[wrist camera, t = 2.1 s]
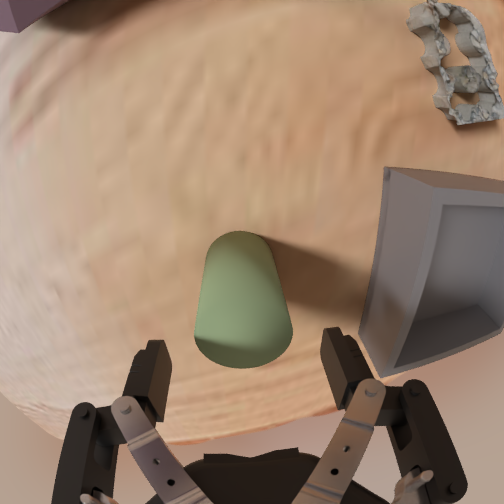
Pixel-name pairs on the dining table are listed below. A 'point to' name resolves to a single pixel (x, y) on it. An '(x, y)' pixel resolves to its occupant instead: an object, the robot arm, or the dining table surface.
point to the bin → (434, 268)
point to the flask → (24, 13)
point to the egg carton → (458, 77)
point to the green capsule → (241, 304)
